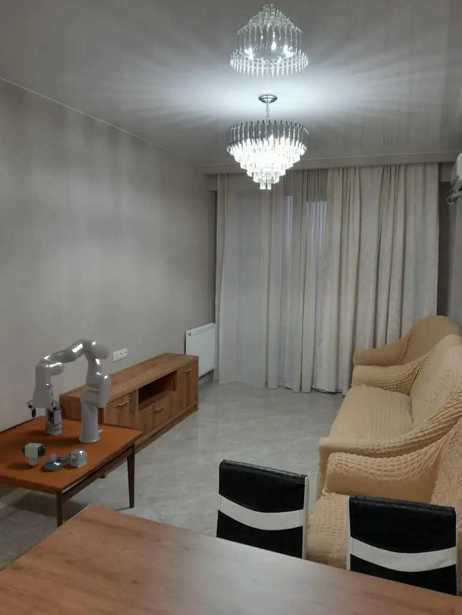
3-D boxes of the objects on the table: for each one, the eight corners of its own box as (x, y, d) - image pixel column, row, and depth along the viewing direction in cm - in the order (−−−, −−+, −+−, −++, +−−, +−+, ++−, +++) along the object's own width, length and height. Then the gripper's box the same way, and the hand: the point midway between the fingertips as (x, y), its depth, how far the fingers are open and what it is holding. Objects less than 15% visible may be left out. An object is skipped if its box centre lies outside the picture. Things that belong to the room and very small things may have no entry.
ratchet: (73, 453, 269) (73, 442, 269) (84, 457, 265) (84, 445, 264) (41, 468, 250) (41, 456, 249) (52, 473, 246) (52, 460, 245)
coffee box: (62, 432, 299) (62, 408, 297) (54, 436, 293) (54, 411, 291) (53, 429, 303) (53, 405, 301) (45, 432, 298) (45, 408, 296)
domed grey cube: (78, 461, 261) (78, 447, 260) (86, 463, 258) (86, 450, 257) (70, 465, 255) (70, 451, 254) (78, 467, 253) (78, 454, 252)
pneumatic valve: (41, 467, 251) (40, 446, 250) (21, 464, 253) (21, 443, 252) (47, 463, 256) (47, 442, 255) (28, 460, 259) (27, 439, 257)
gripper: (61, 385, 251) (61, 416, 253) (30, 383, 251) (30, 414, 253) (56, 389, 243) (56, 420, 245) (23, 387, 244) (23, 419, 246)
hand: (42, 417), depth 249 cm, fingers open, 9 cm apart
